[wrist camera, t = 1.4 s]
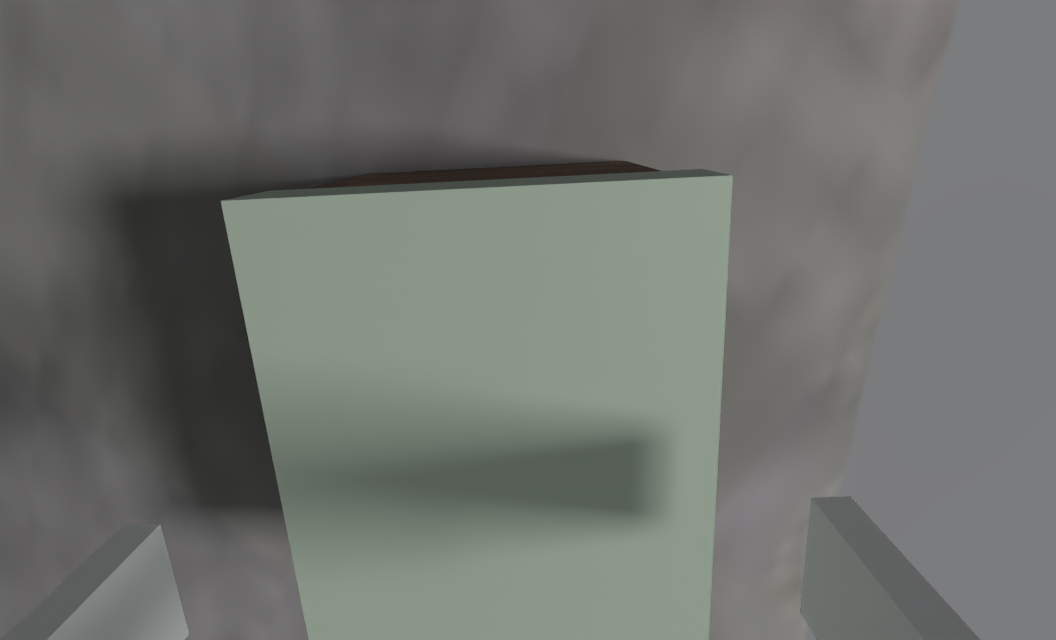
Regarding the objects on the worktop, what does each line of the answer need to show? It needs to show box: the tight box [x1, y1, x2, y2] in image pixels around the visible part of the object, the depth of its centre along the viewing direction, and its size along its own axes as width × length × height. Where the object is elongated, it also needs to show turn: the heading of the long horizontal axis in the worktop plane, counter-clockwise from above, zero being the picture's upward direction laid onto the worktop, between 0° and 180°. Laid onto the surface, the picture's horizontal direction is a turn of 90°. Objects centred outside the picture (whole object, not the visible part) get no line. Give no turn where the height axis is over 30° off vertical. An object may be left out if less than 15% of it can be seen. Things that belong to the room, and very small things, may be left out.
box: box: [308, 161, 660, 189], centre depth 20 cm, size 14×9×6 cm, turn 3°
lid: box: [221, 169, 733, 640], centre depth 16 cm, size 14×11×3 cm
